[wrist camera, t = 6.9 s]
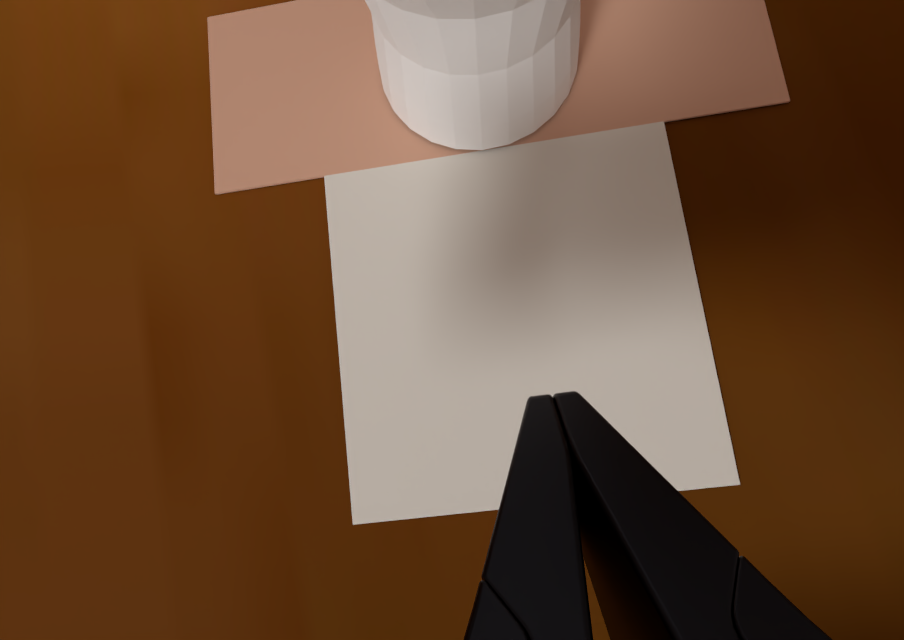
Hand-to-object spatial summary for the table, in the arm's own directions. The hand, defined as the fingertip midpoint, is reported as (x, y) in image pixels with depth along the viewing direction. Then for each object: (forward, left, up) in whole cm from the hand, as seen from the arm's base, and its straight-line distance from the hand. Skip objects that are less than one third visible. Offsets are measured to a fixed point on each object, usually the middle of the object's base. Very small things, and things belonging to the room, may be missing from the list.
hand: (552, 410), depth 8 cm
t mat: (+5, +5, -8) cm, 11 cm away
